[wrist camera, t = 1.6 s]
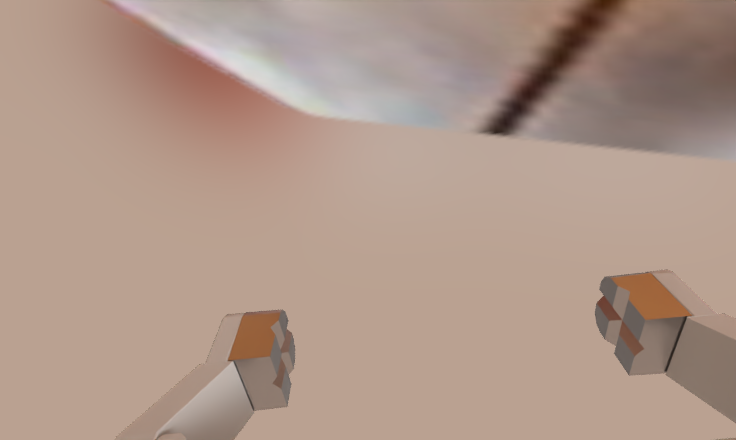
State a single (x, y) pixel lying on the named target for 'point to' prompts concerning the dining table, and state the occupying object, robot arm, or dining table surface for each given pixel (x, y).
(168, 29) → the dining table surface
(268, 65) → the dining table surface
